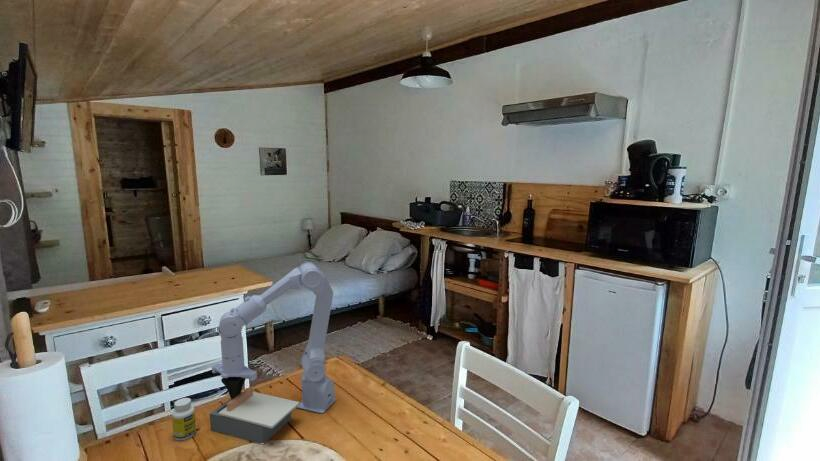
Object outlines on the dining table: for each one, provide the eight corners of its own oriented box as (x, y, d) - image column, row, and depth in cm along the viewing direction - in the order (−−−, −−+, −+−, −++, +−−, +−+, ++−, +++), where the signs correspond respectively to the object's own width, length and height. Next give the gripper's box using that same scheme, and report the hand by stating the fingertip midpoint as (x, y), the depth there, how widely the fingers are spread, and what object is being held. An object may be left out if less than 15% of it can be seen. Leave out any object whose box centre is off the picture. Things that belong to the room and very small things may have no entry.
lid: (299, 404, 116) (299, 394, 116) (272, 428, 105) (271, 418, 104) (249, 392, 122) (248, 384, 122) (218, 414, 111) (217, 405, 110)
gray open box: (291, 418, 118) (290, 402, 117) (263, 444, 107) (262, 427, 106) (242, 406, 124) (241, 391, 123) (210, 430, 113) (209, 413, 112)
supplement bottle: (186, 442, 107) (183, 408, 106) (169, 439, 109) (165, 406, 107) (200, 430, 113) (198, 397, 111) (184, 427, 114) (181, 395, 112)
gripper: (201, 356, 113) (205, 401, 115) (242, 364, 108) (245, 411, 110) (221, 346, 120) (224, 389, 121) (261, 353, 115) (263, 398, 116)
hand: (235, 399), depth 116 cm, fingers closed
